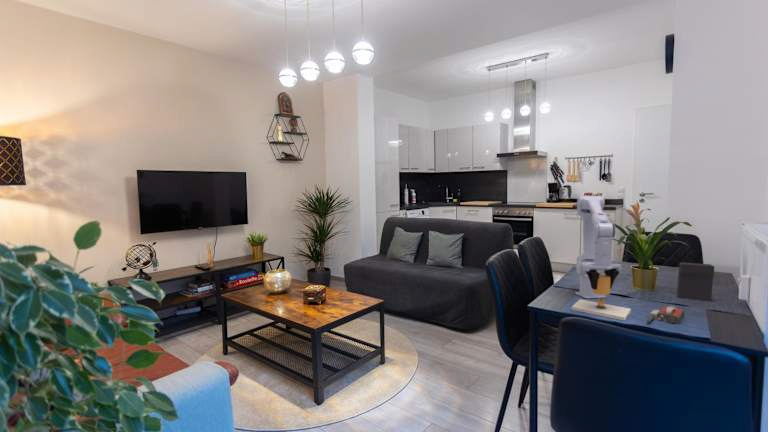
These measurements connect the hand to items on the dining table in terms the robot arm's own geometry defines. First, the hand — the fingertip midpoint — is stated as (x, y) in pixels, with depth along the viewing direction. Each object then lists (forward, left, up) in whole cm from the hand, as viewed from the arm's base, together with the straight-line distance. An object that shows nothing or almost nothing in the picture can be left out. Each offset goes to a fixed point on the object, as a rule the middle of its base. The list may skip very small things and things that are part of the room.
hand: (601, 288), depth 147 cm
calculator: (-49, -7, -9) cm, 50 cm away
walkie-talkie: (-17, +12, -10) cm, 23 cm away
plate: (0, 0, -9) cm, 9 cm away
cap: (0, 0, -2) cm, 2 cm away
